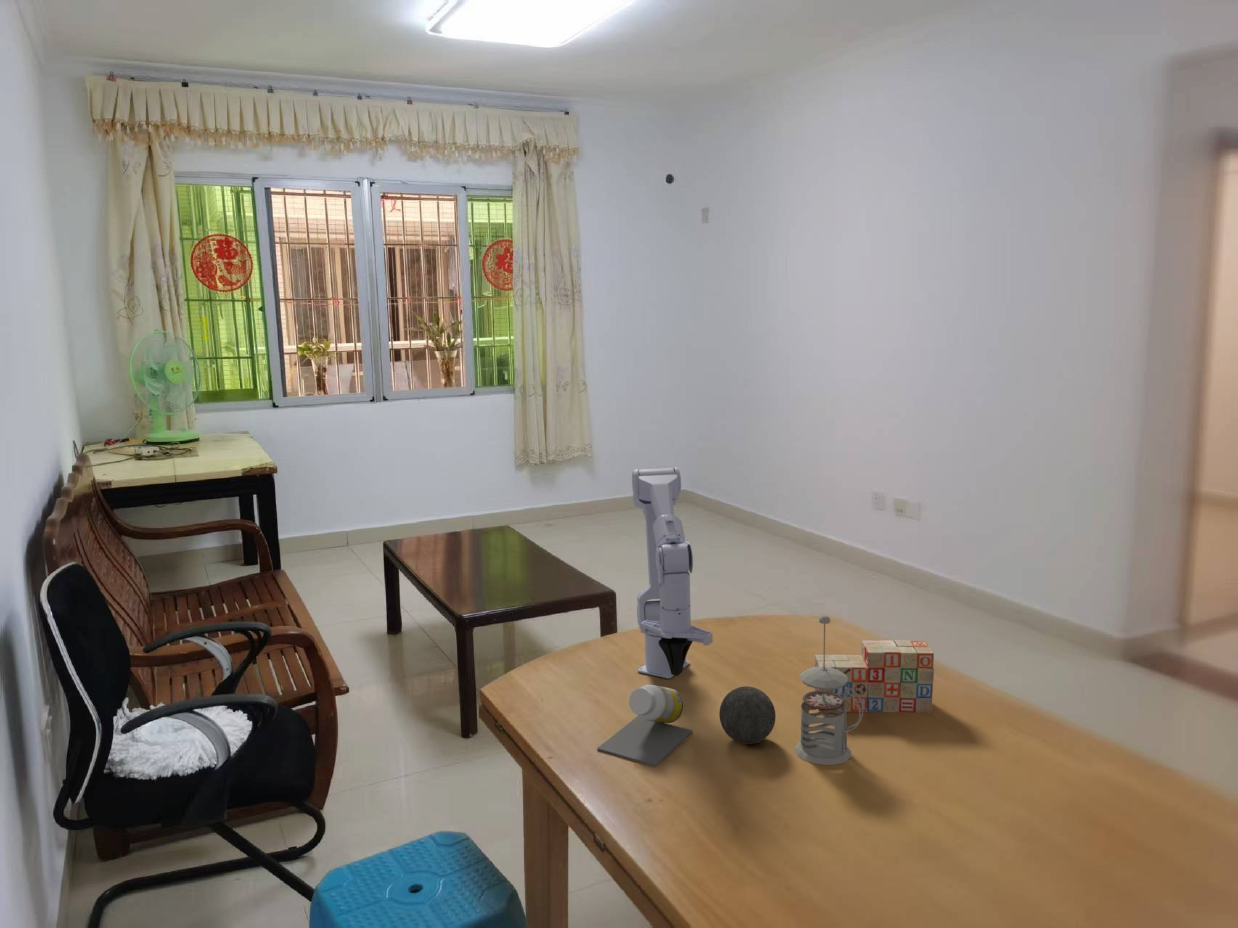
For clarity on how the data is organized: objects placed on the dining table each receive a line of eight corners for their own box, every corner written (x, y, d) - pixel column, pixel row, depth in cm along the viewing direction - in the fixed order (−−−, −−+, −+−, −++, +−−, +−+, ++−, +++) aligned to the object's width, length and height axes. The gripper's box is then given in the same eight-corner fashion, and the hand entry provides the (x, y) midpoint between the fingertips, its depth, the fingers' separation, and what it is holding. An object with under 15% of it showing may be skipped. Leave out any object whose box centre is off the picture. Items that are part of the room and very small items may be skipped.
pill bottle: (649, 705, 171) (617, 700, 162) (671, 681, 171) (641, 675, 161) (668, 731, 168) (638, 727, 158) (691, 706, 167) (662, 702, 157)
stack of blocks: (818, 712, 171) (818, 652, 169) (814, 697, 177) (814, 639, 175) (932, 713, 169) (934, 652, 167) (924, 698, 175) (926, 639, 173)
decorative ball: (770, 757, 155) (770, 704, 153) (714, 750, 158) (713, 697, 156) (779, 731, 164) (779, 680, 162) (726, 724, 167) (725, 674, 165)
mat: (637, 718, 171) (637, 716, 171) (693, 732, 165) (693, 730, 164) (597, 750, 159) (597, 748, 159) (655, 766, 153) (655, 764, 153)
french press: (805, 732, 163) (806, 602, 158) (869, 747, 157) (871, 612, 153) (786, 756, 155) (787, 620, 150) (852, 773, 149) (855, 631, 144)
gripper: (631, 606, 168) (633, 673, 171) (700, 618, 161) (701, 688, 163) (650, 595, 174) (652, 660, 177) (717, 606, 167) (718, 674, 169)
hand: (676, 673), depth 170 cm, fingers closed
